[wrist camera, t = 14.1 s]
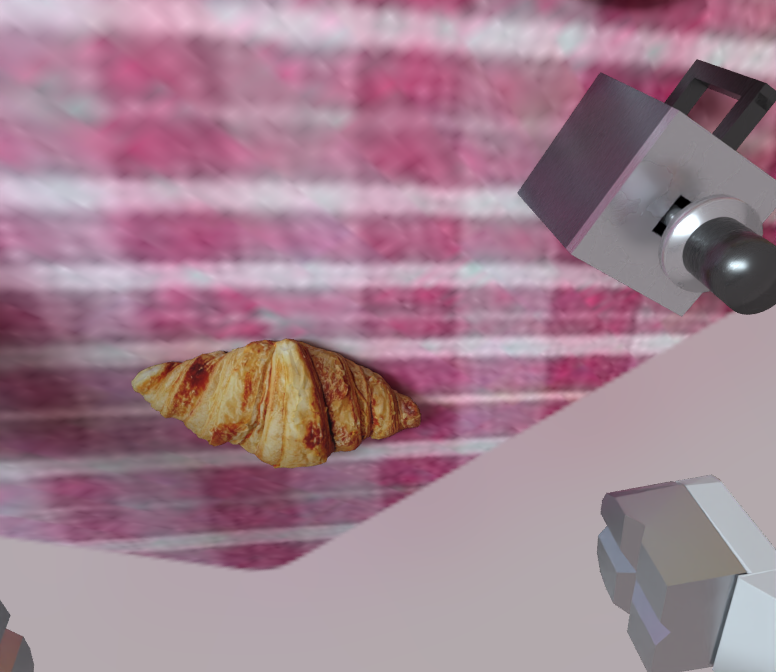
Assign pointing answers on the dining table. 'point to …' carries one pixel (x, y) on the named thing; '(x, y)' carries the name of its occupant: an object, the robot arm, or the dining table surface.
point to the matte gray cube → (646, 173)
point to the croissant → (278, 401)
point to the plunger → (720, 252)
